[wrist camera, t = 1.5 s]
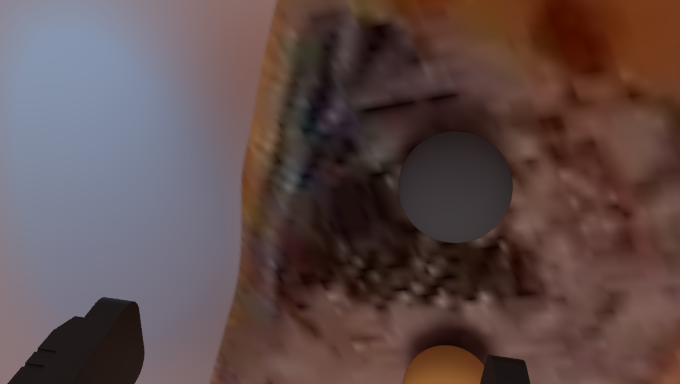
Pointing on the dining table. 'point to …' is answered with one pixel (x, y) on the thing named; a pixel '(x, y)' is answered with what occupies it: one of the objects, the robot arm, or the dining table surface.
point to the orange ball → (444, 367)
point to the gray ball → (455, 186)
